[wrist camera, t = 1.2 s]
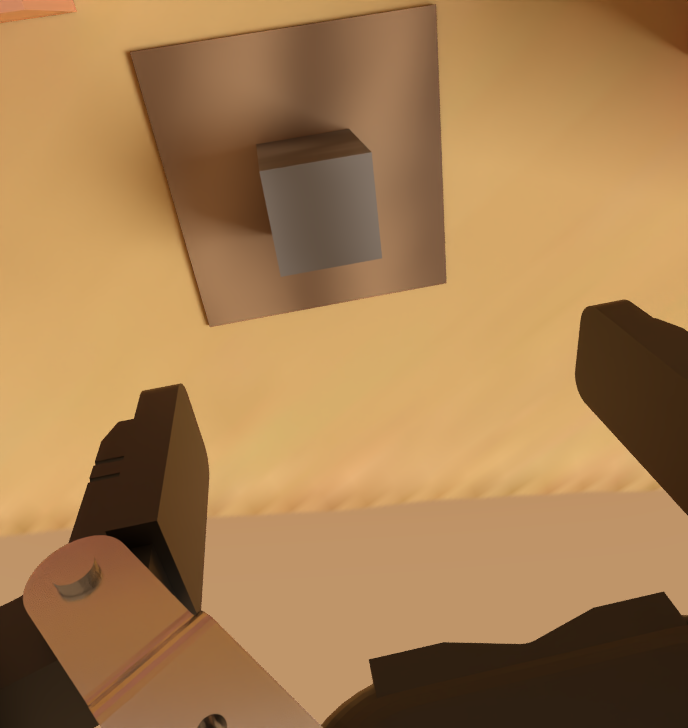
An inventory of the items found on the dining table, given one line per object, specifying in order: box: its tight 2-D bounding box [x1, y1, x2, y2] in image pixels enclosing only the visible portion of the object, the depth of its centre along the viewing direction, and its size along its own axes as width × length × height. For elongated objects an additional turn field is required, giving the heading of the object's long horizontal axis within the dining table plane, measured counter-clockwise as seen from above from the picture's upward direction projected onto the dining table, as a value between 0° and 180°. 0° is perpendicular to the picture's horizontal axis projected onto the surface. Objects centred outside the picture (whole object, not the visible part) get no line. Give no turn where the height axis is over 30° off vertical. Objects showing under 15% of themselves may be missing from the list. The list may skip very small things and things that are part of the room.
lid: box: [130, 5, 446, 327], centre depth 24 cm, size 12×12×6 cm
